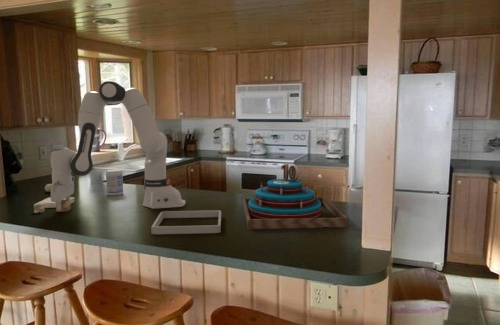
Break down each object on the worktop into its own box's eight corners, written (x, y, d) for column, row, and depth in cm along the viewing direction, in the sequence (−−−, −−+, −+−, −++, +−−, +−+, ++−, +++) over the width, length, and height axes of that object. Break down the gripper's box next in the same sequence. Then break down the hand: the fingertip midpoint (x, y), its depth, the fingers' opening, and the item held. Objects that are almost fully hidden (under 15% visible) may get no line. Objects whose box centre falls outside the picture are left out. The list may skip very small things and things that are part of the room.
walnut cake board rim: (323, 204, 211) (323, 196, 210) (347, 227, 168) (348, 218, 168) (243, 205, 208) (243, 198, 208) (247, 229, 166) (247, 219, 165)
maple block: (44, 210, 199) (44, 202, 199) (43, 212, 195) (42, 204, 195) (35, 211, 198) (35, 203, 197) (34, 213, 194) (33, 205, 194)
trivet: (74, 201, 219) (74, 197, 219) (64, 207, 205) (64, 202, 205) (48, 201, 218) (48, 197, 218) (36, 207, 204) (36, 203, 204)
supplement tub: (121, 195, 235) (120, 171, 233) (105, 196, 233) (104, 171, 232) (124, 192, 244) (123, 169, 242) (108, 192, 243) (107, 169, 241)
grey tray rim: (221, 216, 186) (221, 210, 186) (220, 232, 161) (220, 225, 160) (161, 217, 185) (161, 211, 184) (151, 234, 159) (150, 227, 158)
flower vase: (56, 202, 250) (81, 198, 227) (36, 200, 241) (59, 195, 218) (59, 184, 253) (84, 178, 229) (39, 181, 244) (63, 174, 221)
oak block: (70, 209, 202) (70, 199, 201) (66, 211, 197) (66, 201, 196) (60, 209, 202) (60, 199, 201) (56, 211, 197) (56, 201, 196)
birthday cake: (233, 214, 192) (233, 164, 189) (283, 203, 214) (284, 158, 211) (285, 229, 165) (285, 172, 162) (336, 215, 188) (337, 165, 185)
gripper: (59, 183, 187) (61, 211, 189) (75, 176, 208) (77, 202, 209) (46, 183, 187) (47, 211, 189) (63, 176, 207) (65, 202, 209)
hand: (63, 206), depth 199 cm, fingers open, 8 cm apart
